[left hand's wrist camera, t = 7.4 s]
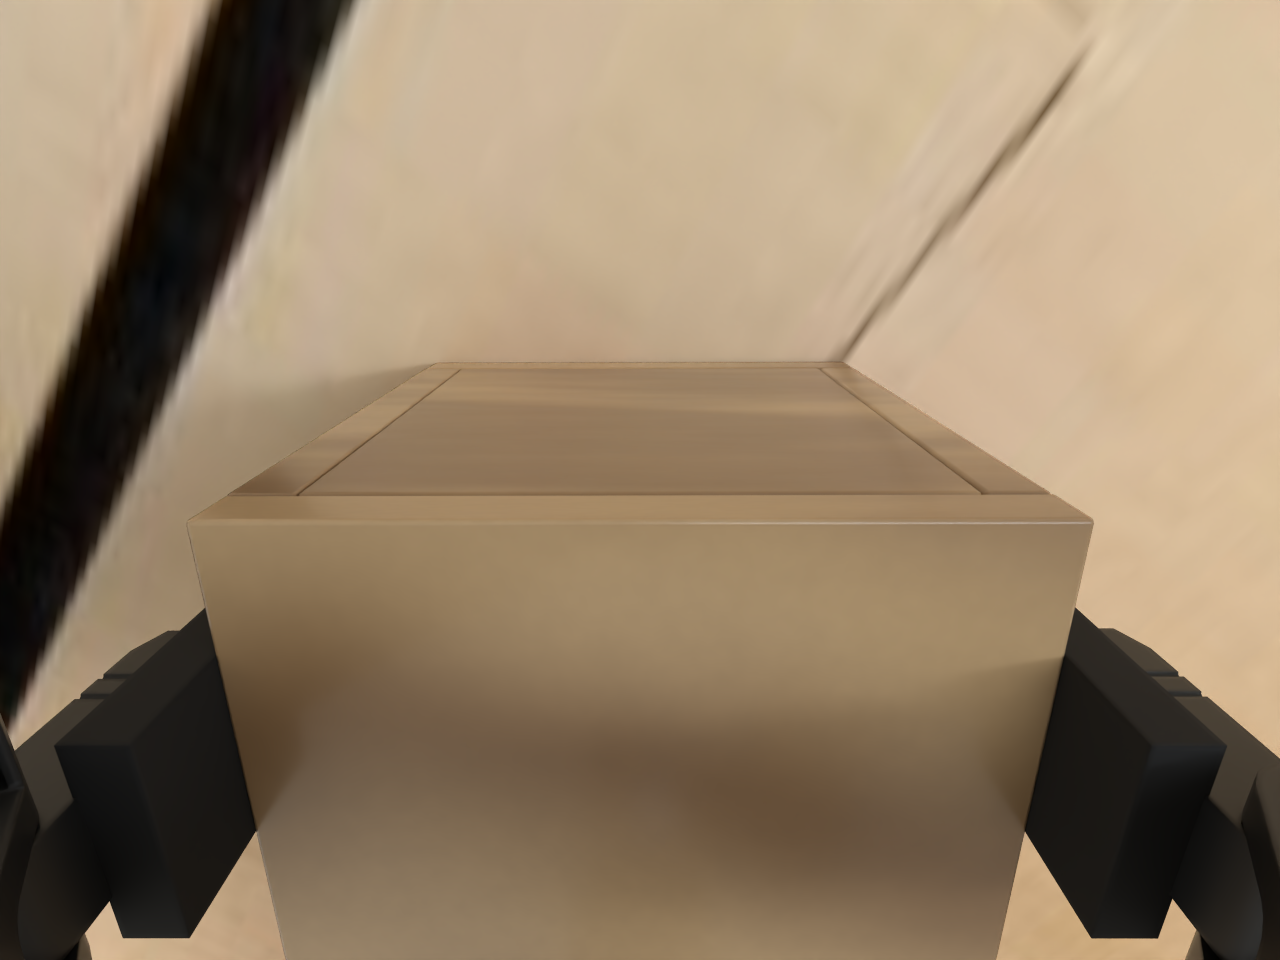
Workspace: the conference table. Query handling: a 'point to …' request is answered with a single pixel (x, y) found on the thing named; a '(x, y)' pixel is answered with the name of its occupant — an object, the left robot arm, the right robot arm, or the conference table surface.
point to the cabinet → (640, 668)
